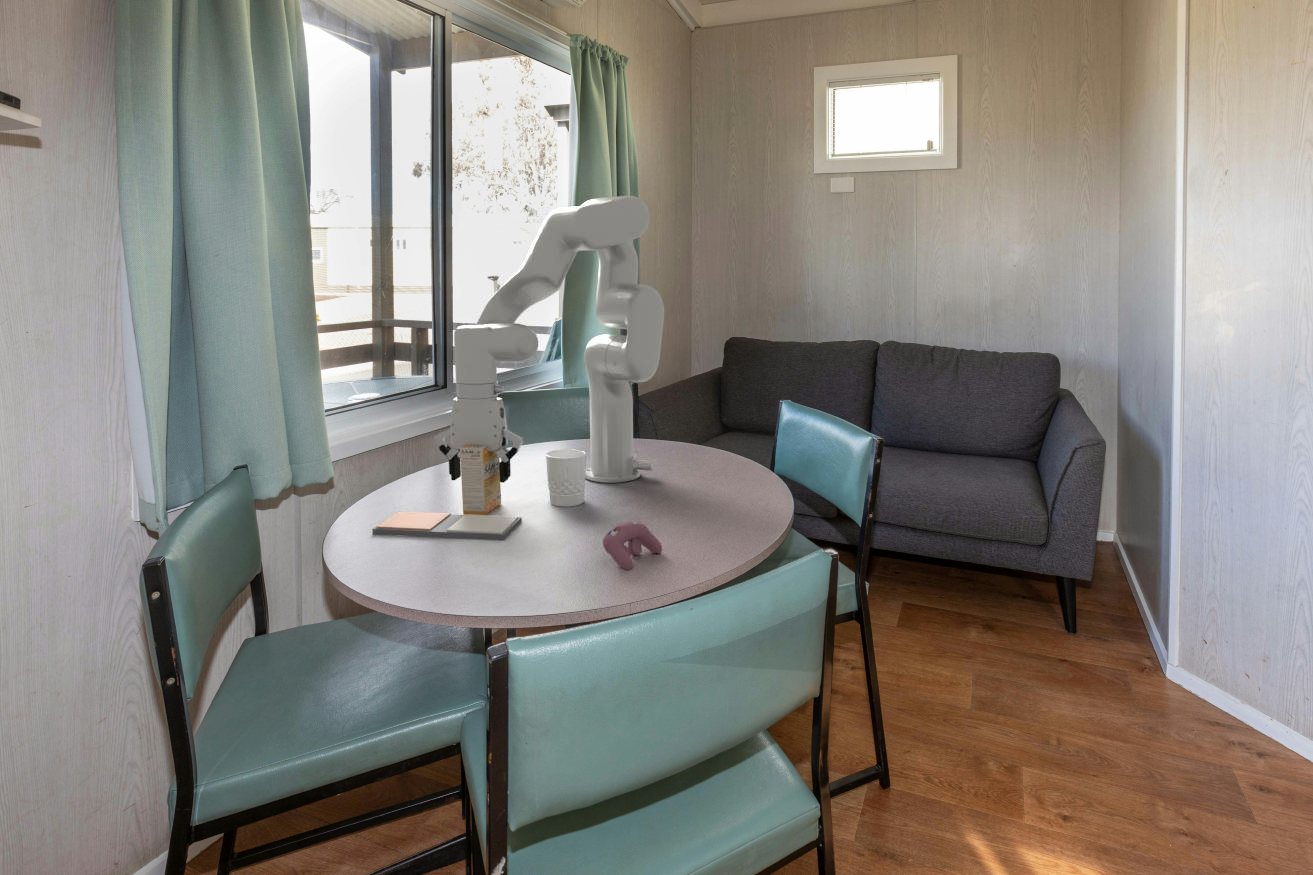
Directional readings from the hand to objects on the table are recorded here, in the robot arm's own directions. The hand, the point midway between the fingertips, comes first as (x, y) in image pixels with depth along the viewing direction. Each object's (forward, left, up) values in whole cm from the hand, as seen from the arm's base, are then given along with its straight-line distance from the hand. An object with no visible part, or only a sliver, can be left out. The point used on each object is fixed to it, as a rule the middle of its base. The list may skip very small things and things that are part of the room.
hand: (480, 479), depth 154 cm
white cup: (-15, -7, -6) cm, 18 cm away
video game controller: (-34, +22, -6) cm, 41 cm away
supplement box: (0, 0, -6) cm, 6 cm away
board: (+2, +12, -6) cm, 13 cm away
